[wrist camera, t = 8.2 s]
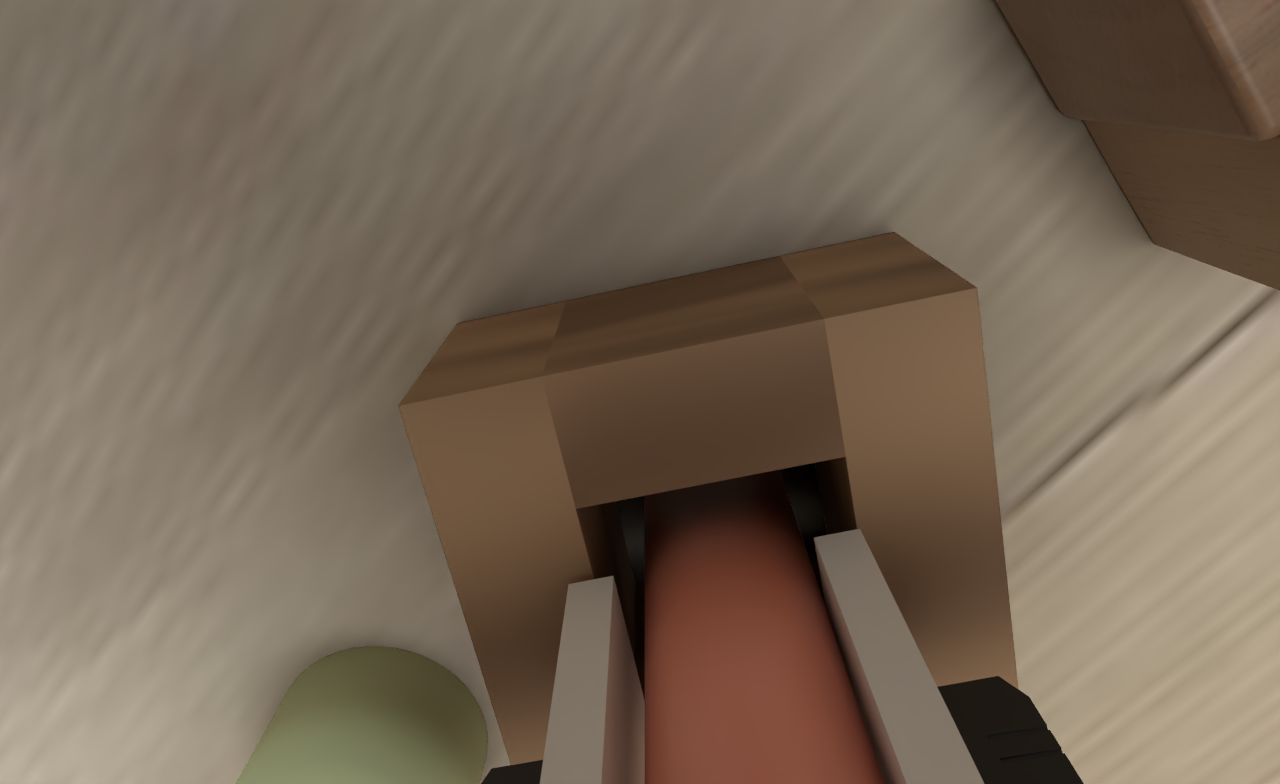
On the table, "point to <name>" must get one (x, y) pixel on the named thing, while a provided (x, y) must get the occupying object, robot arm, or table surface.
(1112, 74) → the wooden toy
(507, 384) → the square wooden frame
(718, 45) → the table surface
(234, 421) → the table surface
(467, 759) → the olive green rounded piece
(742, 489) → the pink capsule rod
